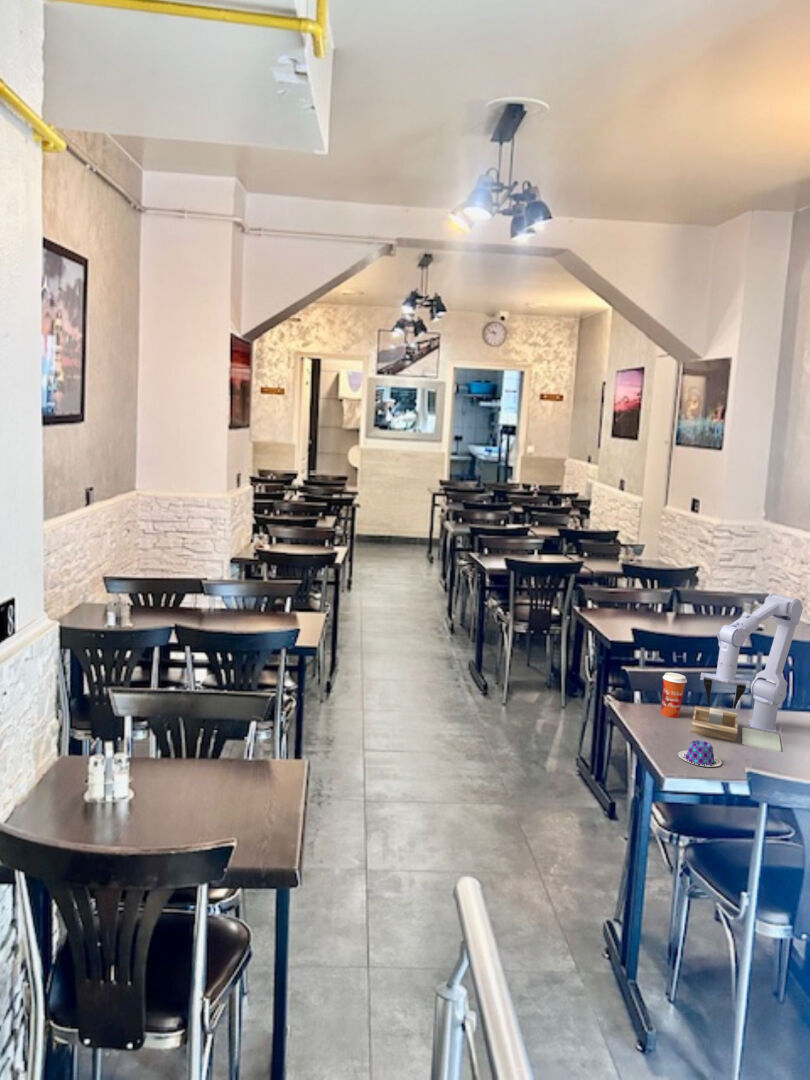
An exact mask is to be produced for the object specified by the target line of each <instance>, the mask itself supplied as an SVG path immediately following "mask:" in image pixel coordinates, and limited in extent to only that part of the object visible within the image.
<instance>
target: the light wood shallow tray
mask: <svg viewBox="0 0 810 1080" xmlns="http://www.w3.org/2000/svg"><path fill="white" fill-rule="evenodd" d="M710 708H711V707H704V706H699V705H695V706H694V711H693V717H692V722H691V729H690V730H691V731H690V733H692V734H698V735H701V736H706V737H712V738H716V739H721V740H726V741H731V742H732V741H733V742H736V741H737V734H738V721H739V719H738V718H739V717H738V714H739V713H736V712H733V711H732V712H731V711H726V710H723V719H722V725H718V724H713V723H708V719H709V712H710Z"/></svg>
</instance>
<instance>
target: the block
mask: <svg viewBox="0 0 810 1080" xmlns="http://www.w3.org/2000/svg"><path fill="white" fill-rule="evenodd" d="M709 708H710V712H709V719H708V723H713V724H718V725H722V719H723V711H724V710H723V709H720V708H719V709H718V708H713V707H709Z"/></svg>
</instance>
